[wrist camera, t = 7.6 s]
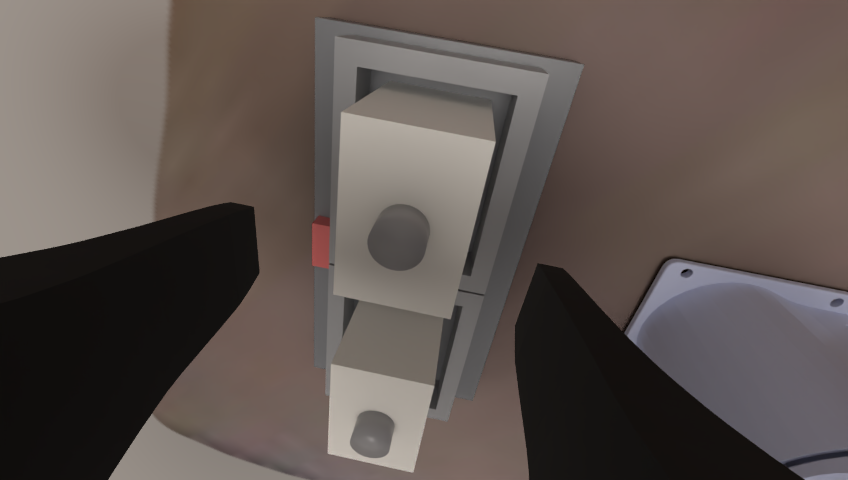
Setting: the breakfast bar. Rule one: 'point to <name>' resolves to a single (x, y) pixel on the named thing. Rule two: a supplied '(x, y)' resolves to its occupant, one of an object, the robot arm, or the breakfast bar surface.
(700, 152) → the breakfast bar surface
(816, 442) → the robot arm
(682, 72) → the breakfast bar surface
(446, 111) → the plug
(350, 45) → the grey compartment holder
